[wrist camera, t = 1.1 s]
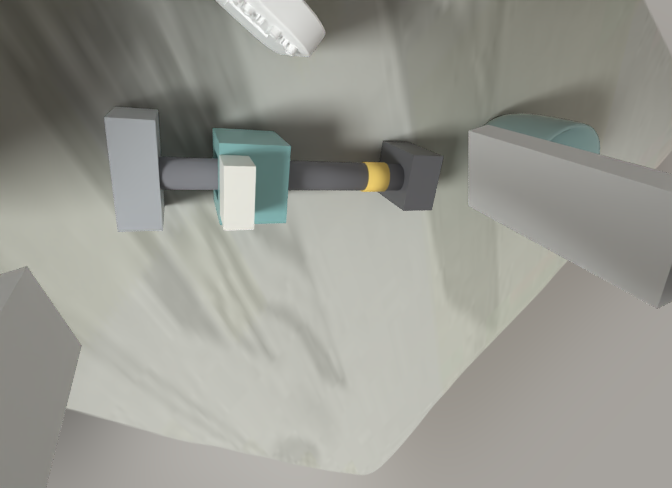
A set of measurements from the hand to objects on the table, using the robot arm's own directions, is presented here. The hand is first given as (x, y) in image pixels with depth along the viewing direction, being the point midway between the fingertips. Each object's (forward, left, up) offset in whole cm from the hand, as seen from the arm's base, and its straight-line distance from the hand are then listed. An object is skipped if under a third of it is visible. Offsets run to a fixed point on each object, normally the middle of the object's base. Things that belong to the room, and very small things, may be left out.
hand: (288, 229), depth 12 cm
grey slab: (-6, -4, -25) cm, 26 cm away
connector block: (+17, -4, -25) cm, 30 cm away
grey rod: (+5, -4, -22) cm, 23 cm away
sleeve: (+2, -4, -25) cm, 25 cm away
